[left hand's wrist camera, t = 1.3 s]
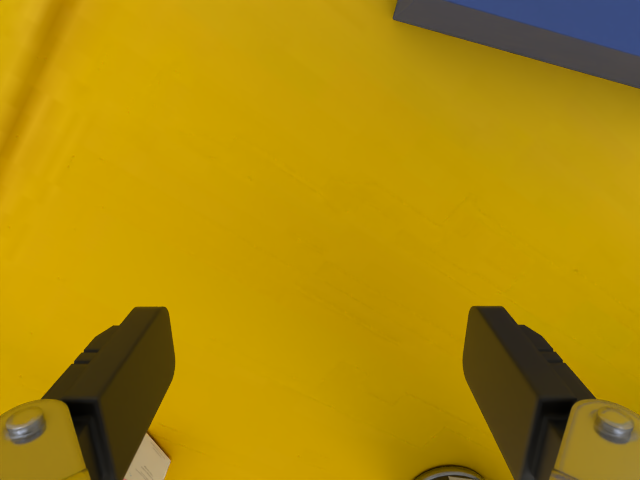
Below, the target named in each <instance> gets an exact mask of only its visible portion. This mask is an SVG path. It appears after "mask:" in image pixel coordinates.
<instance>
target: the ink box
mask: <svg viewBox="0 0 640 480" xmlns="http://www.w3.org/2000/svg"><path fill="white" fill-rule="evenodd" d="M169 464H170V459H169V458H168V457H167V456H166V454H165V453H164V452H163V451H162V450H161V449H160V448H159V446H158V445H157V444H156V443H155V442H154V441H153V440H152V439H151V437H150V436H149V435H148V434H147V433H146V434H145V436H144V438H143V440H142V442H141V444H140V446H139V448H138V450H137V452H136V454H135V456H134V458H133V461H132V463H131V465H130V467H129V469H128V471H127V473H126V475H125V477H124V479H123V480H164V478H165V475H166V472H167V470H168V467H169Z"/></svg>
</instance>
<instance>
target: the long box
mask: <svg viewBox="0 0 640 480" xmlns="http://www.w3.org/2000/svg"><path fill="white" fill-rule="evenodd" d="M393 19H394V20H397V21H400V22H404V23H407V24H411V25H415V26H418V27H422V28H425V29H429V30H432V31H436V32H440V33H443V34H447V35H450V36H454V37H457V38H461V39H465V40H468V41H472V42H475V43H479V44H483V45H486V46H490V47H493V48H497V49H500V50H504V51H508V52H511V53H515V54H518V55H522V56H525V57H529V58H533V59H536V60H540V61H543V62H547V63H550V64H554V65H558V66H561V67H565V68H568V69H572V70H575V71H579V72H583V73H586V74H590V75H593V76H597V77H600V78H604V79H608V80H611V81H615V82H618V83H622V84H625V85H629V86H633V87H636V88H640V0H398V1H397V5H396V8H395V12H394V16H393Z"/></svg>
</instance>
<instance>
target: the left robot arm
mask: <svg viewBox="0 0 640 480" xmlns="http://www.w3.org/2000/svg"><path fill="white" fill-rule="evenodd" d="M174 370H175V353H174V346H173V339H172V332H171V325H170V318H169V313H168V310H167V308H166V307H135V308H134V309H133V310H132V311H131V312H130V313H129V315H128V316H127V317H126V318H125V319H124V321H123V322H122V323H121V324H120V326H112V327H110V328H109V329H107V330H106V331H104V332H102V333H101V334H99V335H98V336H96V337H95V338H94V339H93V340H92V341H91V343H90V344H89V345H88V346H87V347H86V348H85V349H84V353H81V354H80V355H79V356H78V357H77V358H76V360H75V361H74V364H71V365H70V366H69V368H68V369H67V370H66V371H65V372H64V373H63V374H62V376H61V377H60V378H59V379H58V380H57V381H56V382H55V384H54V385H53V386H52V387H51V388H50V389H49V390H48V392H47V393H46V394H45V395H44V396H43V397H42V398H41V400H35V401H31V402H28V403H24V404H22V405H19V406H17V407H15V408H13V409H11V410H9V411H7V412H5V413H4V414H2V415H1V416H0V480H123V479H124V477H125V475H126V473H127V471H128V469H129V467H130V465H131V463H132V461H133V458H134V456H135V454H136V452H137V450H138V448H139V446H140V444H141V442H142V440H143V438H144V436H145V434H146V432H147V430H148V428H149V426H150V424H151V422H152V420H153V418H154V416H155V414H156V412H157V410H158V408H159V406H160V404H161V402H162V400H163V398H164V396H165V394H166V392H167V390H168V388H169V386H170V384H171V381H172V379H173V375H174ZM463 370H464V375H465V379H466V381H467V383H468V385H469V387H470V389H471V391H472V393H473V395H474V398H475V400H476V402H477V404H478V406H479V408H480V410H481V412H482V414H483V416H484V418H485V420H486V422H487V424H488V426H489V428H490V430H491V432H492V434H493V436H494V439H495V441H496V443H497V445H498V447H499V449H500V451H501V453H502V455H503V457H504V459H505V461H506V463H507V465H508V467H509V469H510V471H511V473H512V475H513V477H514V480H640V416H639V415H638V414H636V413H635V412H633V411H631V410H629V409H627V408H625V407H623V406H621V405H618V404H616V403H612V402H609V401H605V400H599V399H596V398H595V397H594V396H593V394H592V393H591V392H590V391H589V390H588V389H587V387H586V386H585V385H584V384H583V383H582V382H581V381H580V379H579V378H578V377H577V376H576V375H575V374H574V373H573V371H572V370H571V369H570V368H569V367H568V366H567V364H566V363H563V360H562V359H561V358H560V356H559V355H558V354H557V353H556V352H553V348H552V347H551V346H550V345H549V344H548V343H547V341H546V340H545V339H544V338H543V337H542V336H541V335H539V334H538V333H536V332H535V331H533V330H531V329H530V328H528V327H527V326H525V325H518V324H517V323H516V322H515V321H514V319H513V318H512V317H511V316H510V315H509V313H508V312H507V311H506V310H505V308H504V307H502V306H472V307H471V309H470V311H469V315H468V322H467V329H466V337H465V344H464V351H463ZM415 480H484V479H483V478H482V477H481V476H480V475H479V474H478V473H476V472H474V471H472V470H470V469H467V468H463V467H457V466H446V467H439V468H435V469H432V470H429V471H427V472H425V473H423V474H421V475H420V476H418V477H417V478H416V479H415Z"/></svg>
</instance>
